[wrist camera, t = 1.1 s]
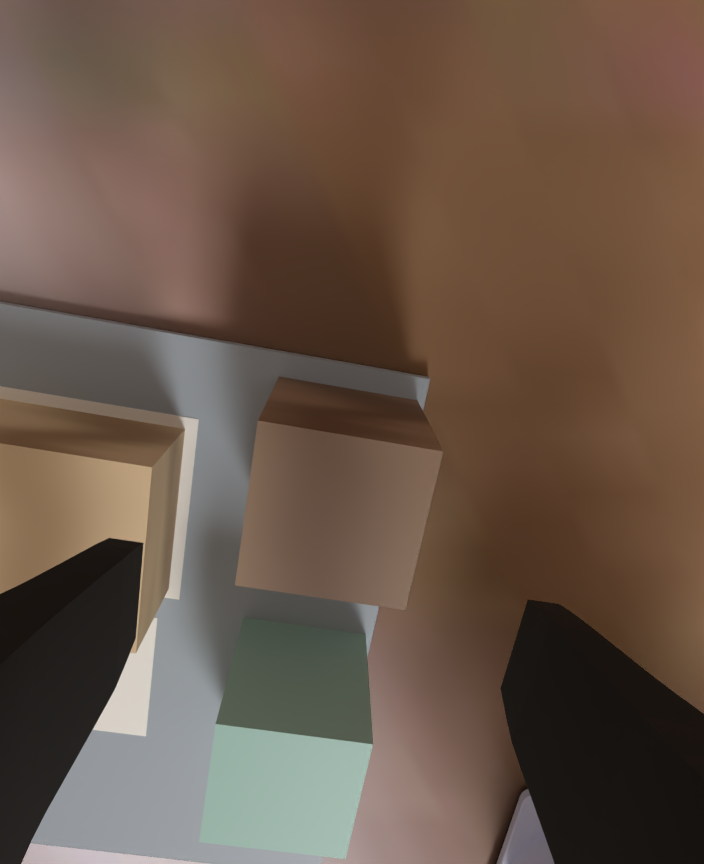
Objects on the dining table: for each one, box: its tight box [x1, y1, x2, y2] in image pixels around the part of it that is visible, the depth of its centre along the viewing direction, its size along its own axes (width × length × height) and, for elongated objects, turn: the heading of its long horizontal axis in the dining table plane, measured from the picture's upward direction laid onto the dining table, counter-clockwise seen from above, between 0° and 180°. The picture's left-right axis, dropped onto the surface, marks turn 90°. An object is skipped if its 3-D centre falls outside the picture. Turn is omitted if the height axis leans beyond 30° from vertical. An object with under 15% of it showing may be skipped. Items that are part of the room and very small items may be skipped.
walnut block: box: [235, 376, 443, 610], centre depth 17 cm, size 4×4×5 cm
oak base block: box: [0, 399, 185, 653], centre depth 18 cm, size 6×6×4 cm
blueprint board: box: [0, 301, 430, 864], centre depth 22 cm, size 15×22×1 cm
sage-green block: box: [199, 617, 373, 859], centre depth 20 cm, size 4×4×5 cm
